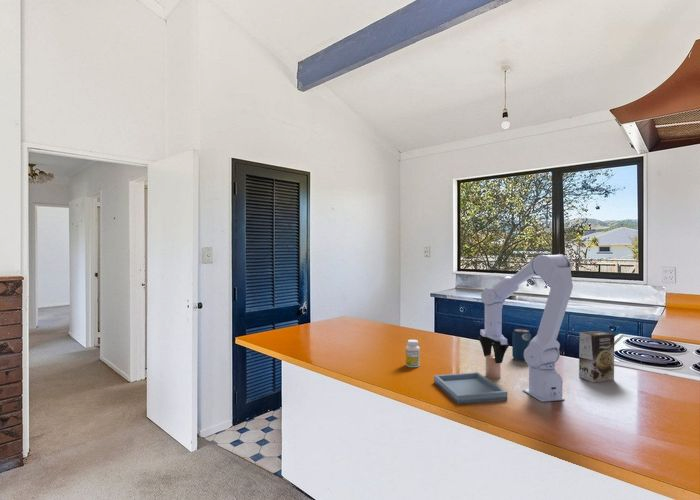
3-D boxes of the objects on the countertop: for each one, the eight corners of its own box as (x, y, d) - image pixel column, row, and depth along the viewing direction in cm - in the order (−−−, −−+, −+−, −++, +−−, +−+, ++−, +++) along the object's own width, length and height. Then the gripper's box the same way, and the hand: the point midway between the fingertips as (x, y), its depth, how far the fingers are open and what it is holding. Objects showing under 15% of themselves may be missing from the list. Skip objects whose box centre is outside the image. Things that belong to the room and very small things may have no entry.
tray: (507, 400, 117) (507, 391, 117) (457, 404, 114) (457, 395, 114) (477, 379, 135) (477, 372, 135) (434, 382, 132) (434, 375, 132)
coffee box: (594, 383, 131) (594, 335, 130) (578, 376, 137) (578, 331, 137) (615, 380, 133) (615, 333, 133) (598, 374, 139) (598, 329, 139)
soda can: (532, 362, 153) (533, 332, 153) (514, 361, 155) (514, 331, 155) (528, 357, 160) (528, 328, 160) (510, 356, 162) (510, 327, 161)
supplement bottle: (410, 362, 154) (410, 338, 154) (422, 365, 151) (422, 340, 151) (403, 365, 150) (403, 340, 150) (415, 368, 147) (415, 343, 146)
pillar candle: (503, 378, 136) (503, 358, 136) (490, 379, 135) (490, 359, 135) (495, 373, 141) (495, 354, 141) (482, 374, 140) (482, 355, 140)
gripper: (472, 318, 144) (472, 354, 144) (493, 326, 130) (493, 366, 130) (490, 317, 145) (490, 353, 146) (512, 325, 131) (512, 365, 131)
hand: (492, 359), depth 138 cm, fingers open, 7 cm apart
